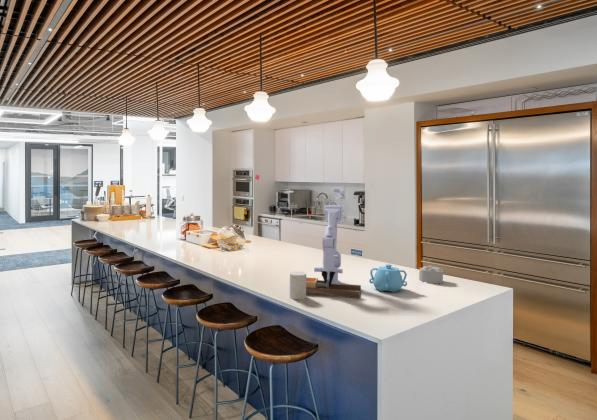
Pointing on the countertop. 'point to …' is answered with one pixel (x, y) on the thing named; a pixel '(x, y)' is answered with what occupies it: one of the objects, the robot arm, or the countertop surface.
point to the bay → (336, 290)
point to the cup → (297, 285)
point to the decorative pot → (388, 278)
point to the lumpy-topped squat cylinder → (431, 274)
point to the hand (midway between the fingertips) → (328, 286)
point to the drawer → (316, 283)
